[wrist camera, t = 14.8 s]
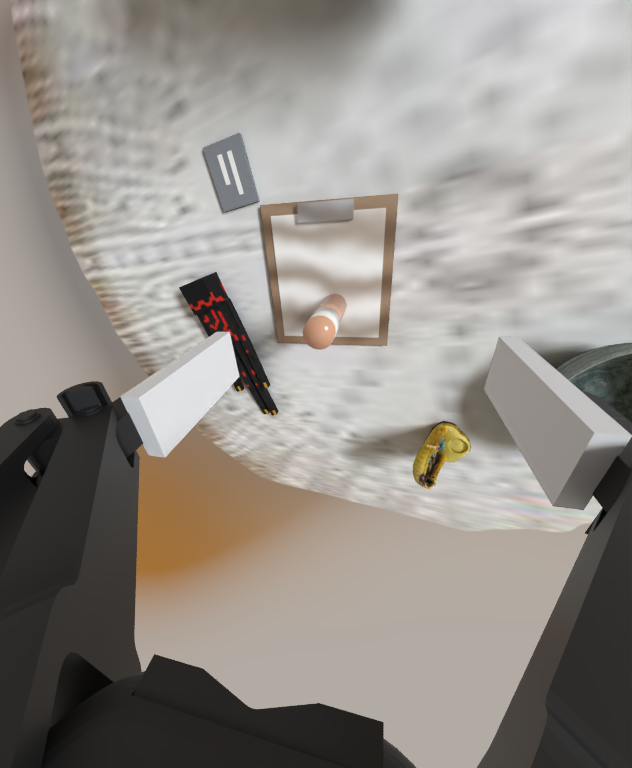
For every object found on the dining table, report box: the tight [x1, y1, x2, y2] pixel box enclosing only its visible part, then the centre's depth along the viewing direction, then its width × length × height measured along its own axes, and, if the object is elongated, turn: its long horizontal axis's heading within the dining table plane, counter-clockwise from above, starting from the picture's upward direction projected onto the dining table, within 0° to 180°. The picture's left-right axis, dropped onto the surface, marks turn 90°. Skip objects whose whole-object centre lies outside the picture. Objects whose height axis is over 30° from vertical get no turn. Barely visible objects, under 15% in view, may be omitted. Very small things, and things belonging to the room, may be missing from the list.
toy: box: [180, 272, 278, 415], centre depth 55 cm, size 8×5×30 cm
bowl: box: [556, 343, 632, 423], centre depth 41 cm, size 21×21×10 cm
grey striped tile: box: [203, 133, 259, 212], centre depth 41 cm, size 8×6×1 cm
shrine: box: [413, 421, 471, 489], centre depth 50 cm, size 12×8×15 cm
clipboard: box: [260, 194, 398, 346], centre depth 45 cm, size 22×20×2 cm
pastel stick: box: [303, 294, 347, 349], centre depth 41 cm, size 4×4×14 cm
